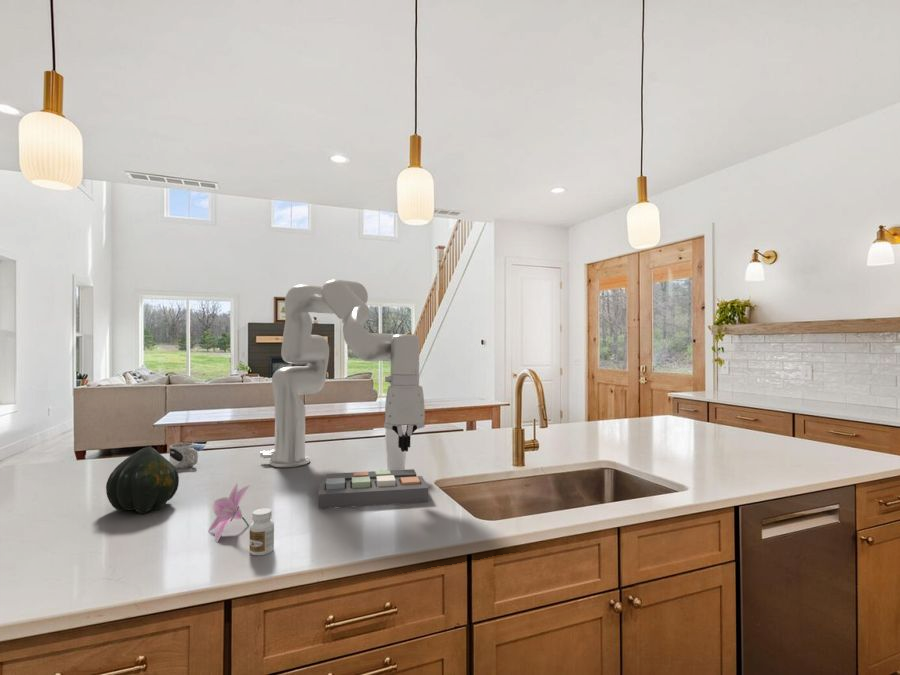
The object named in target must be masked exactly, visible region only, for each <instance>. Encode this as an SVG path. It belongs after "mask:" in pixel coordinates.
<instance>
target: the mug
mask: <svg viewBox="0 0 900 675" xmlns="http://www.w3.org/2000/svg"><path fill="white" fill-rule="evenodd" d="M194 444H195V443H193V442H179V443H174V444H171V445H169V462H170V463H171V464H172V465H173V466H174V467H175V468H176V470H178V469H185V468H191V467H192V466H195V465H197V464H198V459H199V454H198V450H197V449H195V448H194V446H195V445H194Z"/></svg>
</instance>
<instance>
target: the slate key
mask: <svg viewBox="0 0 900 675" xmlns="http://www.w3.org/2000/svg"><path fill="white" fill-rule="evenodd" d="M325 481H326V490H332V489H345V478H332V479H327V478H326V480H325Z"/></svg>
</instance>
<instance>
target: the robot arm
mask: <svg viewBox="0 0 900 675" xmlns="http://www.w3.org/2000/svg"><path fill="white" fill-rule="evenodd" d="M368 296H369V294H368V290H367V289H366V287H365V286H364V285H363V284H362V283H360V282H358V281H351V280H343V279H331V280H328V281H326V282H325V283H324V284H322V286H321V285H312V284H298V285H294V286H292V287H291V288H290V289H289V290H288V291H287V293H286V295H285V298H284V314H285V316H284V318H285V323H284V327H283V335H282V343H281V352H280V353H281V354H280V355H281V358H282V360H283V361H284V362H285V363H288V364H294V365H295V364H298V365H299V364H306V365H304V366H303V365H302V366H298V365H297V366H285V367H284V366H283V367H281V368H279V369H277V370H276V371H275V372H274V373H273V374H272V377H271V385H272V386H271V387H272V391H273V397H274V398H273V399H274V448H273V449H271V450H270V451H269V450H263V451H260V454H259V455H260V458H263V459H269V465H270V467H275V468H296V467H300V466H304V465H307V464H309V463H310V461H311V458H310V456H308V455H306V407H305V404H304V402H303V401H302V399H301V397H300V396H302V395H311V394H317V393H319V392H320V391H322V389H323V388H324V386H325V383H326V377H327V371H328V364H329V358H330V345H329V342H328V340H327V339H326V338H325V337H324V336H322V335H319V334H312V330H313V320H312V317H311V315H310V313H314V314H315V313H316V314H333V315H334V314H335V315H336V317H337V318H338V319H339V320H340V321H341V323H343V326H342V333H343V339H344V341H345V344H346V345H347V346H348V348H349V349H350V350H351V351H352V352H353V353H354V354H355V355H356V357H358V358H359V359H361V360H362V361H365V362H388V361H389V362H390V375H388V376H385V378H384V382H386V383H389V385H388V387H387V390H386V395H385V396H386V398H385V405H384V406H385V408H384V419H385V421H384V424H383V427H384V429H385V428H386V429H390V430H394V431H395V432H396V433H397V434H398V447H399V448H401V451H402V452H404V451H406V452H408V451H409V448H411V436H413V435H412V434H414V432H415V431H416V430H419V429H422V428H424V427H426V425H425V420H426V419H425V418H426V416H425V414H426V413H425V397H424V390H423V386H422V385H420V338H419V336H418V335H416V334H410V333H409V334H408V333H407V334H406V333H405V334H404V333H403V334H402V333H399V334H397V333H384V332H383V333H382V332H380V333H379V332H369V331H368V330H367V329H365V327H364V324H365V323H367V321H368V319H369V316H370V311H371V310H370V308H369V306H368V304H367V303H368V298H369V297H368ZM402 425H407V428H406V432H405V435H404V433H403V431H402Z"/></svg>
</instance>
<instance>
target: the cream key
mask: <svg viewBox="0 0 900 675" xmlns="http://www.w3.org/2000/svg"><path fill="white" fill-rule="evenodd" d="M376 486H377V487H383V486H396V480H395V477H394V475H387V476H376Z"/></svg>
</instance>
